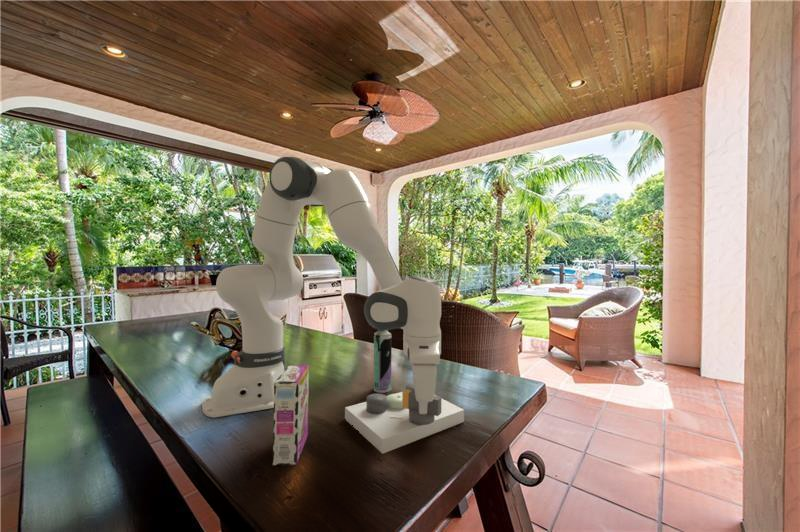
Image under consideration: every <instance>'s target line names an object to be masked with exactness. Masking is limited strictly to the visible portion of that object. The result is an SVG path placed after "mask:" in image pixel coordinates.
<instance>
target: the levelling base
mask: <svg viewBox="0 0 800 532" xmlns="http://www.w3.org/2000/svg"><path fill="white" fill-rule="evenodd" d="M406 389H408V390H412V391H415V389H414V383H408V384H407V385H405V390H406ZM402 392H403V391H400V392H397V393H391V394H388V395H386V394H384V393H372V394H368V395H367V396H366V401H364V402H359V403H356V404H353V405H349V406H346V407H344V420H345V419H346V420H345V421H346V422H348V423H349V425H351V426H352V425H353V426H352V427H353V429H355V430H358V431H359V434H361V435H362V436H363V437H364V438H365V439H366V440H367V441H368V442H369V443H371V444H372V445H373V446H374V447H375V449H377V450H378V451H379V452H380V453H381V454H386V453H388V452H391V451H393V450H395V449H399V448H401V447H403V446H406V445H409V444H411V443H413V442H416V441H419V440H421V439H424V438H426V437H429V436H431V435H434V434H436V433H439V432H442V431H444V430H447V429H450V428H452V427H454V426H456V425H459V424H462V423H464V422H465V409H463V408H462V407H459V406H458V405H455V404H454V403H452V402H450V401H448V400H445V398H444V399H443V398H442V397H441V414H440V415H439V416H435V420H434V422H432V423H431V424H427V425H418V424H414V423H412V422H411V421H410V420H409V409H406V408H402ZM434 396H437V395H436V394H434ZM358 431H357V432H358Z"/></svg>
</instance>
